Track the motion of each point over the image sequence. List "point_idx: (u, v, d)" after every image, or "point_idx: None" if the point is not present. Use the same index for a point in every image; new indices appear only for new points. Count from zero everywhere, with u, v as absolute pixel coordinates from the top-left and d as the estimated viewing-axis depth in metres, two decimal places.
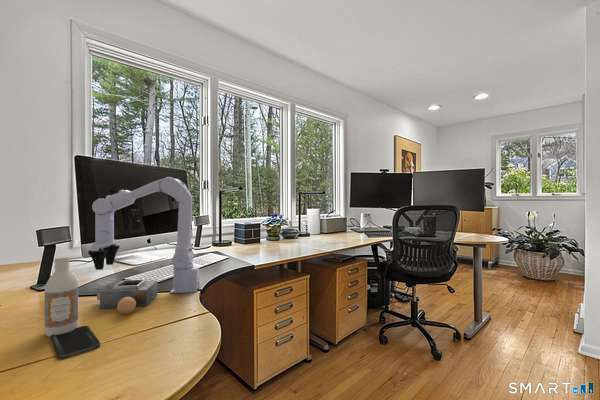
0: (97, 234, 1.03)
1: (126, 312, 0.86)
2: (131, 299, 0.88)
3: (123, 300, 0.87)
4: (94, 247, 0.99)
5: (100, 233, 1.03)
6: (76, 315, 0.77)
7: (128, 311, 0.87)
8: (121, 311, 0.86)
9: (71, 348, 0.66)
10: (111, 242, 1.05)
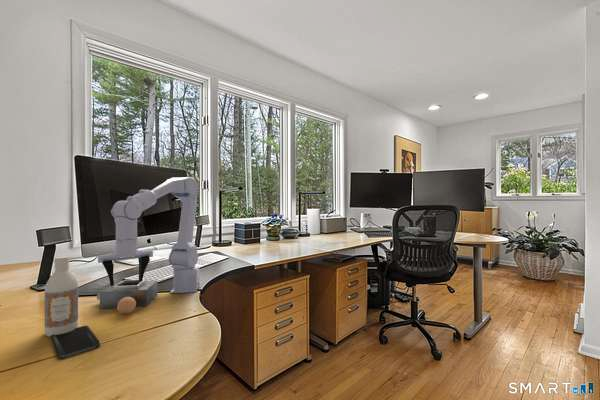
0: None
1: (126, 312, 0.86)
2: (131, 299, 0.88)
3: (123, 300, 0.87)
4: (98, 258, 0.83)
5: None
6: (76, 315, 0.77)
7: (128, 311, 0.87)
8: (121, 311, 0.86)
9: (71, 348, 0.66)
10: (124, 254, 0.85)
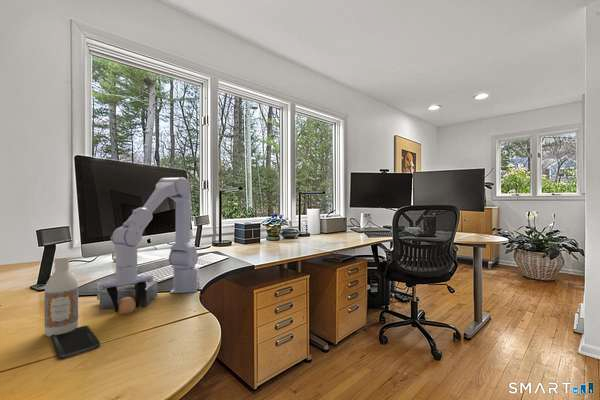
0: None
1: (126, 312, 0.86)
2: (131, 299, 0.88)
3: (123, 300, 0.87)
4: (98, 286, 0.83)
5: None
6: (76, 315, 0.77)
7: (128, 311, 0.87)
8: (121, 311, 0.86)
9: (71, 348, 0.66)
10: (124, 281, 0.85)
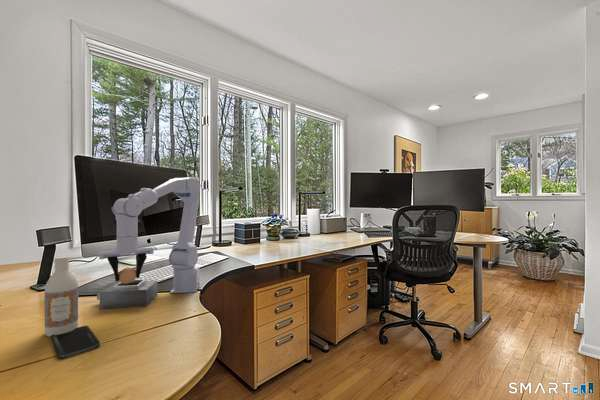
0: None
1: (126, 282, 0.88)
2: (132, 269, 0.89)
3: (124, 270, 0.88)
4: (99, 254, 0.85)
5: None
6: (76, 315, 0.77)
7: (128, 281, 0.88)
8: (122, 280, 0.87)
9: (71, 348, 0.66)
10: (124, 251, 0.87)
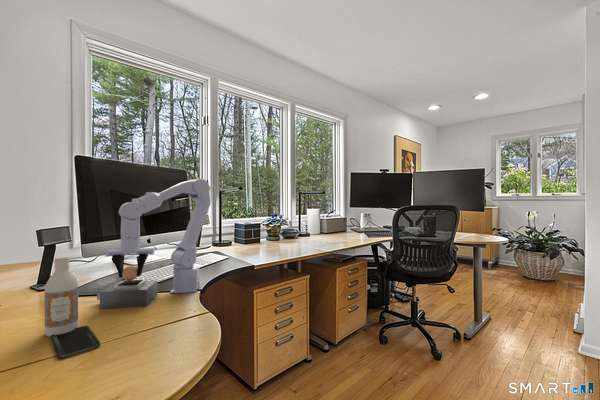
0: None
1: (127, 279, 0.96)
2: (133, 268, 0.97)
3: (126, 268, 0.97)
4: None
5: None
6: (76, 315, 0.77)
7: (129, 278, 0.96)
8: (123, 277, 0.96)
9: (71, 348, 0.66)
10: (124, 250, 0.95)
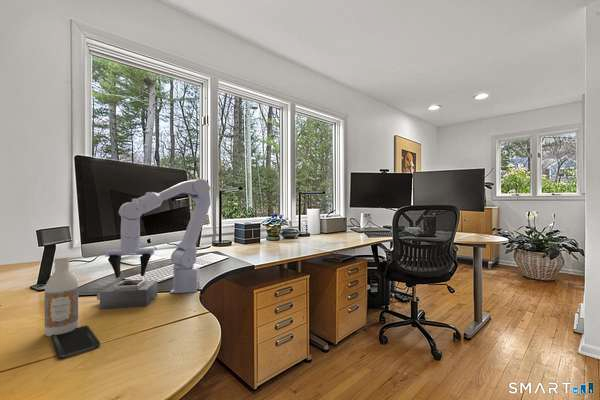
0: None
1: None
2: None
3: None
4: None
5: None
6: (76, 315, 0.77)
7: None
8: None
9: (71, 348, 0.66)
10: (124, 250, 0.95)
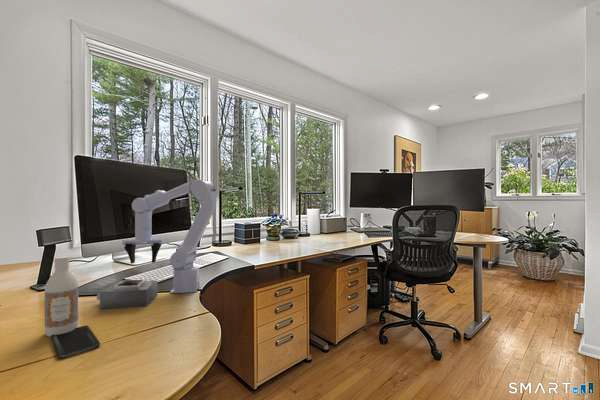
0: None
1: None
2: None
3: None
4: None
5: None
6: (76, 315, 0.77)
7: None
8: None
9: (71, 348, 0.66)
10: (138, 240, 1.09)
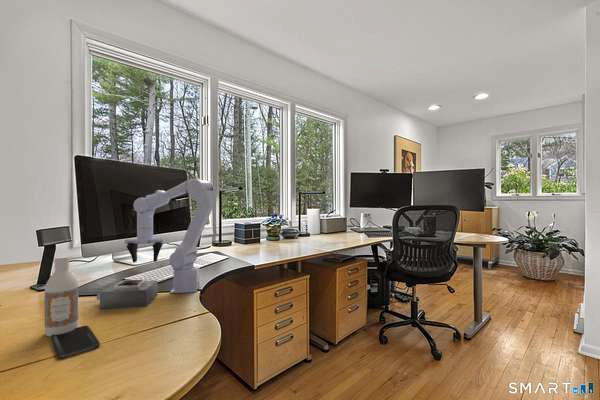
0: None
1: None
2: None
3: None
4: None
5: None
6: (76, 315, 0.77)
7: None
8: None
9: (71, 348, 0.66)
10: (139, 239, 1.11)
